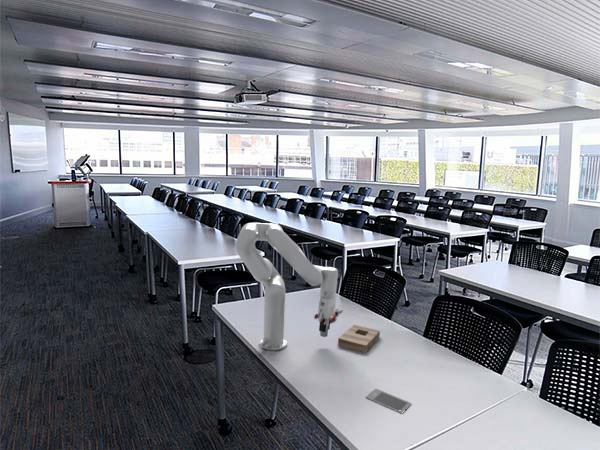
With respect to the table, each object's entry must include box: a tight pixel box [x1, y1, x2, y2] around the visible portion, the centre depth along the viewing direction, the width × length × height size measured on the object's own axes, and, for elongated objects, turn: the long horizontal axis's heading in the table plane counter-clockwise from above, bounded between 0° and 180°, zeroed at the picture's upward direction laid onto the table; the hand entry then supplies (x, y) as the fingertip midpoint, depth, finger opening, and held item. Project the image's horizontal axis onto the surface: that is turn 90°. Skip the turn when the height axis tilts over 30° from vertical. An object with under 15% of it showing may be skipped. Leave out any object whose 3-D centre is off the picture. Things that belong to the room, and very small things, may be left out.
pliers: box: [314, 308, 343, 324], centre depth 233 cm, size 12×20×3 cm, turn 143°
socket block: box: [337, 324, 381, 354], centre depth 201 cm, size 20×14×4 cm
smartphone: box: [365, 388, 412, 414], centre depth 151 cm, size 15×8×1 cm, turn 51°
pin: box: [319, 316, 329, 338], centre depth 194 cm, size 4×4×9 cm
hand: (324, 329), depth 194 cm, fingers closed on pin, 3 cm apart
